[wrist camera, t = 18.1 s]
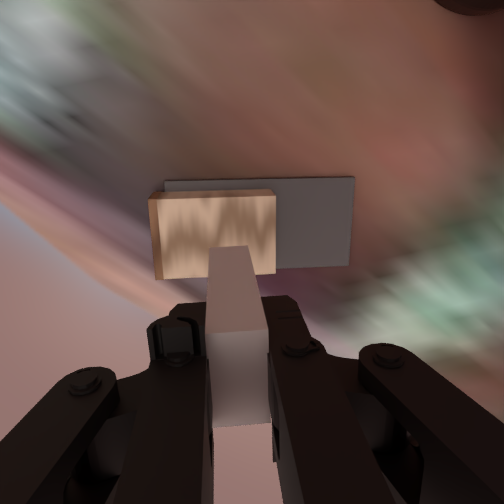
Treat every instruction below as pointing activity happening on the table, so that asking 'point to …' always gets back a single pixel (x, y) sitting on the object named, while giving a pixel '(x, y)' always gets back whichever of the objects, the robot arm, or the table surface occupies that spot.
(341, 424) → the robot arm
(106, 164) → the table surface
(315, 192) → the mat
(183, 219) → the slab
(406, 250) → the table surface
